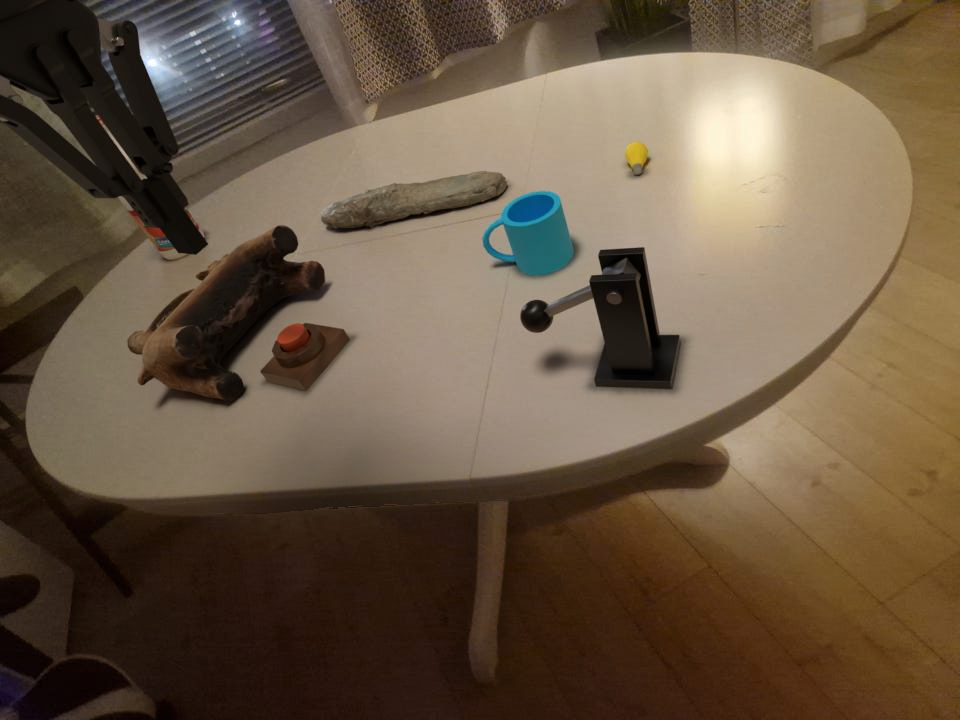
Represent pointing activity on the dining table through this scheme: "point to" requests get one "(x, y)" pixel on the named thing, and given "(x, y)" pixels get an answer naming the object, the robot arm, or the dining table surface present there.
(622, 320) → the bracket
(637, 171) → the light bulb
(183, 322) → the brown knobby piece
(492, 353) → the dining table surface
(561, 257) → the mug
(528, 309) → the lever
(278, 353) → the button block
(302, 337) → the button
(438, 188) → the long grey stone
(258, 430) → the dining table surface
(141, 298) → the dining table surface
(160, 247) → the fruit juice
